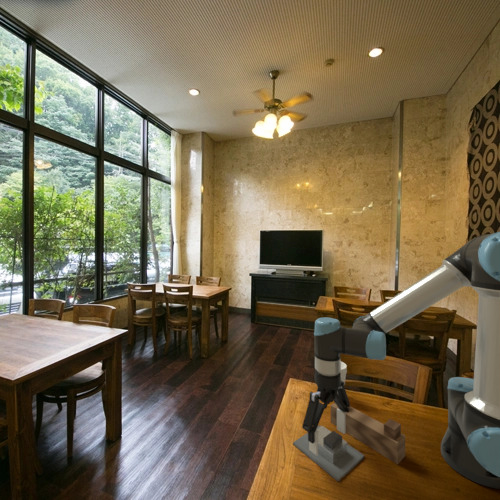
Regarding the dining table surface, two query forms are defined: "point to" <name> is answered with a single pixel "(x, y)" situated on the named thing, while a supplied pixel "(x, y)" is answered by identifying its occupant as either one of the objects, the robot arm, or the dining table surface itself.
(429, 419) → the dining table surface
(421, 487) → the dining table surface
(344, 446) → the light grey block
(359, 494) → the dining table surface
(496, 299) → the robot arm
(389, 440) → the plane body
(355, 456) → the rubber mat
